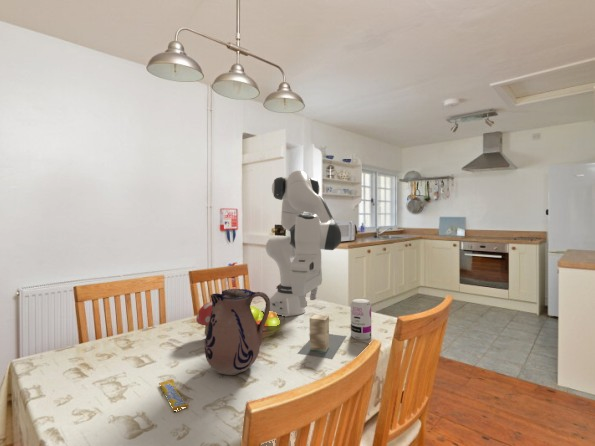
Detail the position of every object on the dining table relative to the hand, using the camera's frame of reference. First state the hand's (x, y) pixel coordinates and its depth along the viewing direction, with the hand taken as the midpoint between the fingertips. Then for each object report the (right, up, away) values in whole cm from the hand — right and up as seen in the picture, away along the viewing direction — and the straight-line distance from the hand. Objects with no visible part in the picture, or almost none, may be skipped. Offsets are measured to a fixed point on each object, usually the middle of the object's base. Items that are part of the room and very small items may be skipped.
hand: (308, 303), depth 107 cm
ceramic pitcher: (-23, -21, -1) cm, 31 cm away
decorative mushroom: (-38, -21, +24) cm, 49 cm away
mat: (+6, -20, +16) cm, 26 cm away
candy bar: (-38, -22, -18) cm, 48 cm away
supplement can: (+22, -20, +24) cm, 38 cm away
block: (+4, -20, +11) cm, 23 cm away
